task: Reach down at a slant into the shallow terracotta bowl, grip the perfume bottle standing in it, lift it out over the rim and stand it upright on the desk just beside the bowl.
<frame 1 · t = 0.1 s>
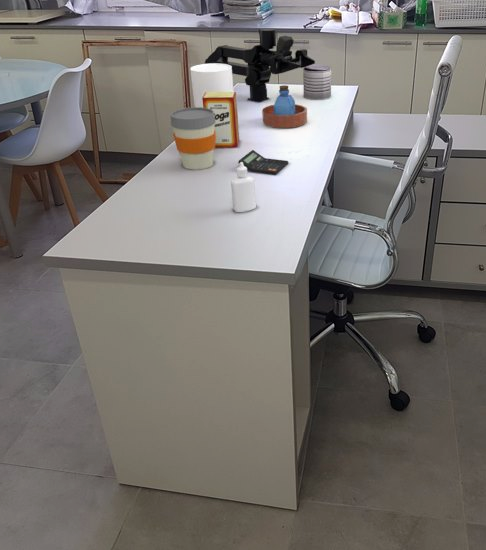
hand: (306, 64, 207), 17 cm above the table, tool horizontal, fingers open, 9 cm apart
bowl: (285, 122, 202), on the table
eye dropper bottle: (244, 209, 141), on the table
reusable coffee cup: (198, 164, 168), on the table
canister: (216, 128, 198), on the table
perfume bottle: (285, 121, 202), resting on bowl
calculator: (263, 167, 165), on the table
baking soda box: (223, 144, 183), on the table
can: (317, 96, 232), on the table
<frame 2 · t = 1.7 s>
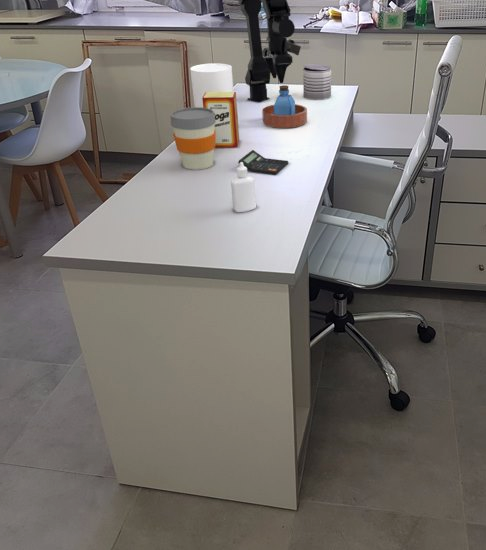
hand: (278, 80, 206), 12 cm above the table, tool pointing down, fingers open, 9 cm apart
nothing on the table moved.
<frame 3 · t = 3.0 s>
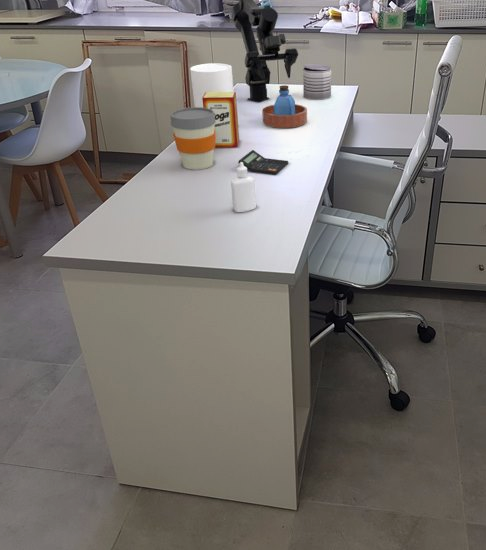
hand: (277, 78, 201), 13 cm above the table, tool tilted 45°, fingers open, 9 cm apart
nothing on the table moved.
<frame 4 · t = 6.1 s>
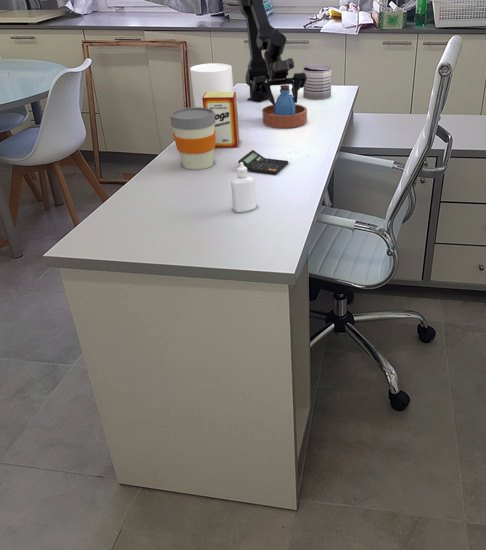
hand: (285, 103, 197), 7 cm above the table, tool tilted 45°, fingers closed on perfume bottle, 8 cm apart
perfume bottle: (285, 121, 202), resting on bowl, touching gripper
everything else where it was.
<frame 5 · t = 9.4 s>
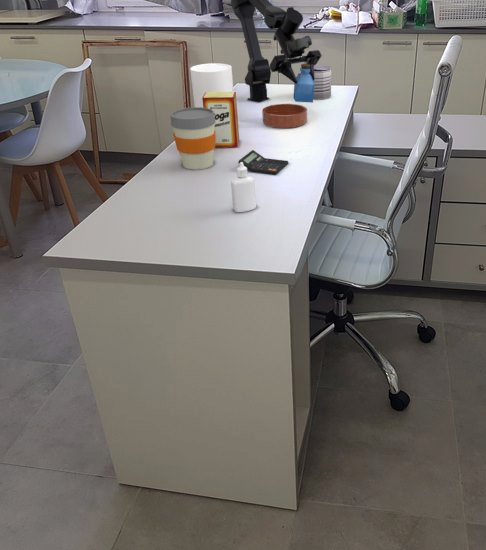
hand: (305, 81, 198), 13 cm above the table, tool tilted 45°, fingers closed on perfume bottle, 7 cm apart
perfume bottle: (303, 100, 203), point 6 cm above the table, touching gripper
everything else where it was.
when the fingers open (7 cm above the table, at t = 13.0 s): perfume bottle stays where it is, on the table.
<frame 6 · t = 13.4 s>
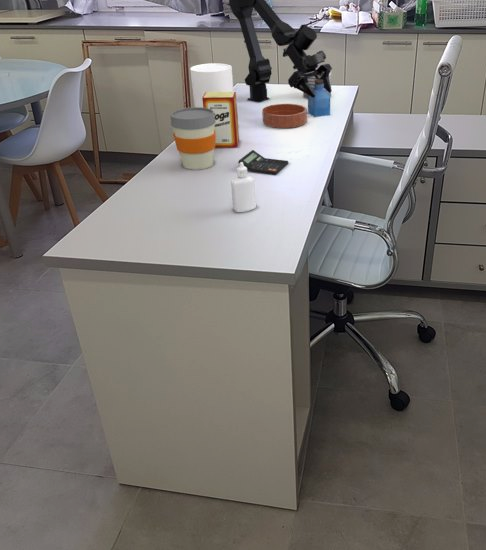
hand: (322, 94, 206), 7 cm above the table, tool tilted 45°, fingers open, 9 cm apart
perfume bottle: (318, 114, 211), on the table
everything else where it was.
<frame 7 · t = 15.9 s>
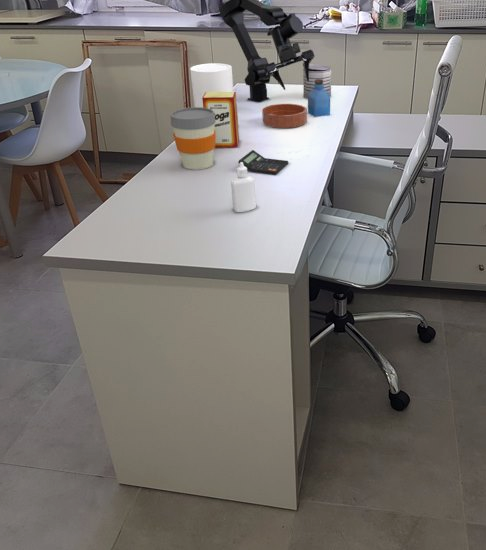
hand: (296, 85, 210), 9 cm above the table, tool tilted 25°, fingers open, 9 cm apart
nothing on the table moved.
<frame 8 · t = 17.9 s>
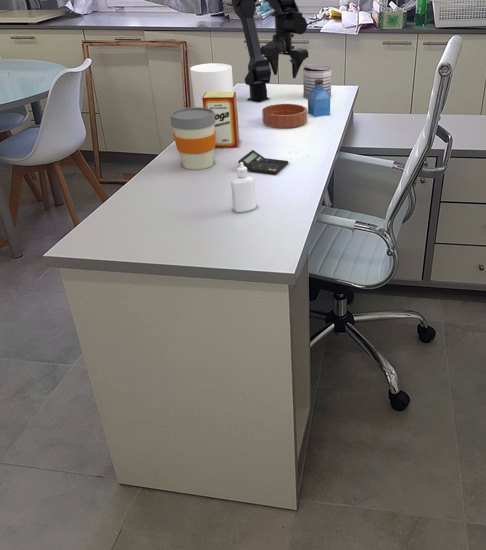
hand: (284, 76, 211), 12 cm above the table, tool pointing down, fingers open, 9 cm apart
nothing on the table moved.
at the end: perfume bottle inside the target area (0.5 cm from its centre), on the table; perfume bottle tilted 0°; perfume bottle touching table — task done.
